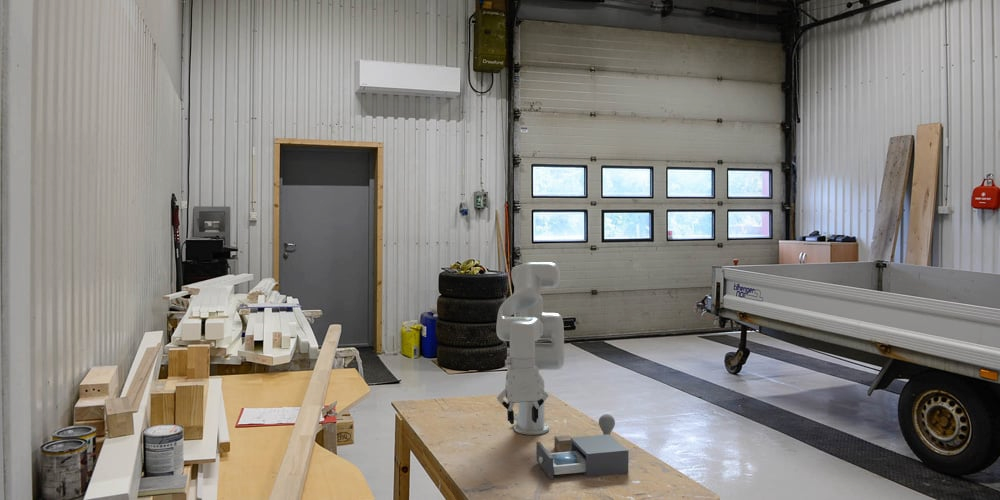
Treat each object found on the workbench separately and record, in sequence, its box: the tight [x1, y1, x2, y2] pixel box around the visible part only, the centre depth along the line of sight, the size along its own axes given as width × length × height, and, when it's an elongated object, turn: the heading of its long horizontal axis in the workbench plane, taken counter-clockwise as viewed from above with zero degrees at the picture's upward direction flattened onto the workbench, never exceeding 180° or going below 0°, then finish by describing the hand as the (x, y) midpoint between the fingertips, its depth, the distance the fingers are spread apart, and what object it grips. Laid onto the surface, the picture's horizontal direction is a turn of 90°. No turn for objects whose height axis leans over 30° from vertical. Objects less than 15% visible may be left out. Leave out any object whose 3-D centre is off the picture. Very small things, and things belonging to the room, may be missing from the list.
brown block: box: [553, 434, 571, 453], centre depth 212 cm, size 5×5×4 cm
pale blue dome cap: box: [554, 453, 577, 465], centre depth 196 cm, size 7×7×2 cm
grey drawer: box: [535, 441, 586, 480], centre depth 195 cm, size 15×14×6 cm
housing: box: [570, 433, 629, 478], centre depth 198 cm, size 15×13×7 cm
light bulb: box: [598, 413, 616, 435], centre depth 218 cm, size 6×6×10 cm
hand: (522, 421), depth 192 cm, fingers open, 6 cm apart
